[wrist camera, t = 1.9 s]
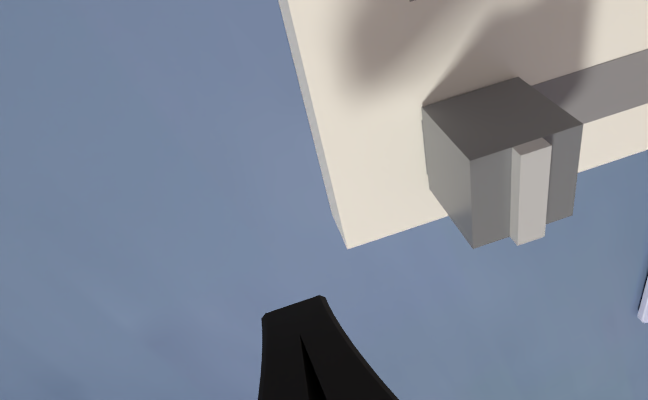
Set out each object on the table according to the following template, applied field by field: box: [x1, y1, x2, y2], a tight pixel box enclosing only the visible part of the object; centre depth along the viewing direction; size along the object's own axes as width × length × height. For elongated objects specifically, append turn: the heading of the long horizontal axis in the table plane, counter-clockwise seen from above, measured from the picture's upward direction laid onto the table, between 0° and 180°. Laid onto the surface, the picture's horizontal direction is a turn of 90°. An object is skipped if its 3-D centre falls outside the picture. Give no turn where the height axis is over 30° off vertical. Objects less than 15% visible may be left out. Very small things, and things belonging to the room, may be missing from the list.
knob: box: [421, 77, 583, 249], centre depth 15 cm, size 3×3×3 cm
